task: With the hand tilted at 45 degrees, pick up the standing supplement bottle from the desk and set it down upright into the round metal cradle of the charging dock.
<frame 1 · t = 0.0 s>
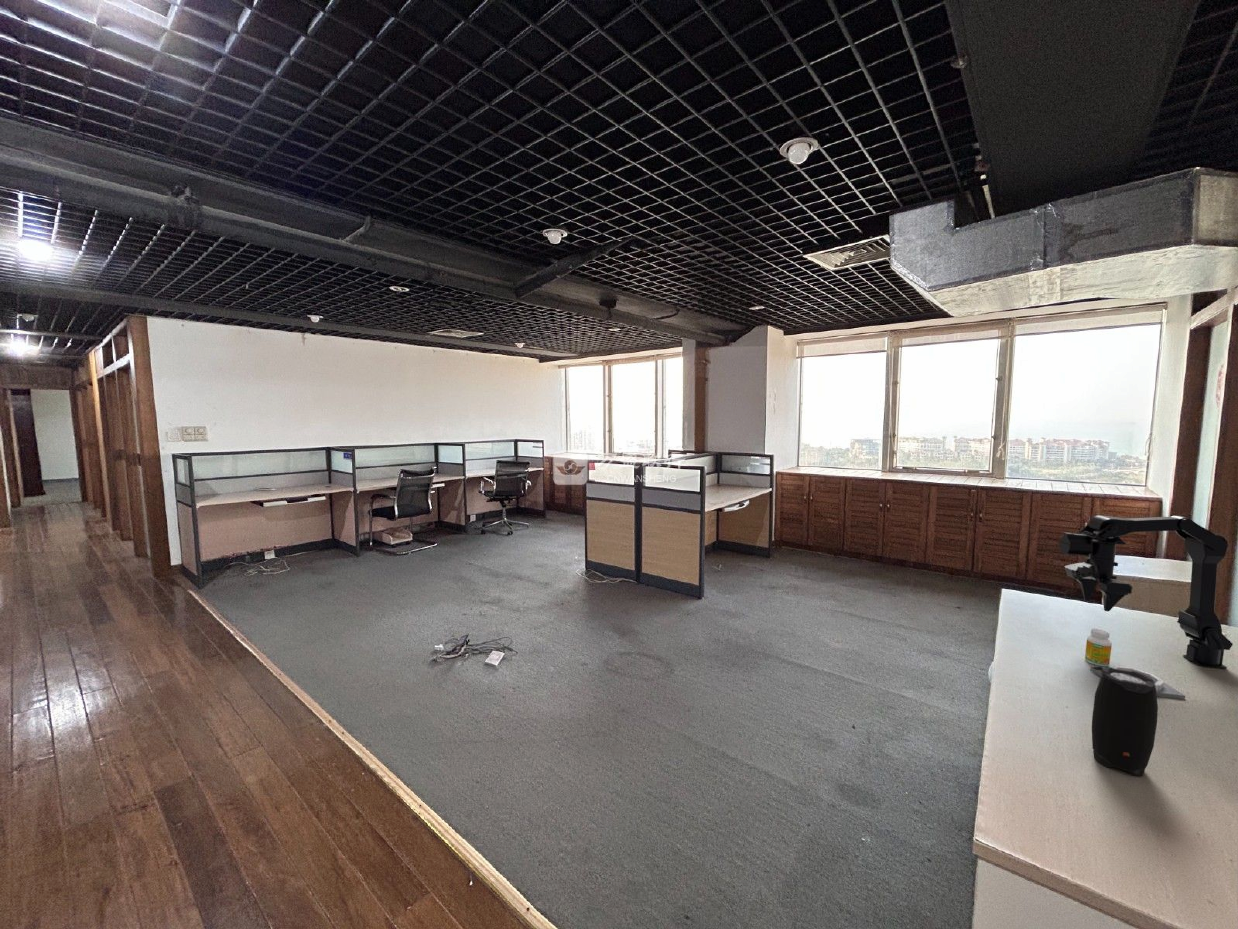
hand: (1096, 605, 156), 15 cm above the table, tool pointing down, fingers open, 9 cm apart
supplement bottle: (1096, 663, 150), on the table
portable speaker: (1117, 764, 105), on the table
charging dock: (1134, 683, 138), on the table
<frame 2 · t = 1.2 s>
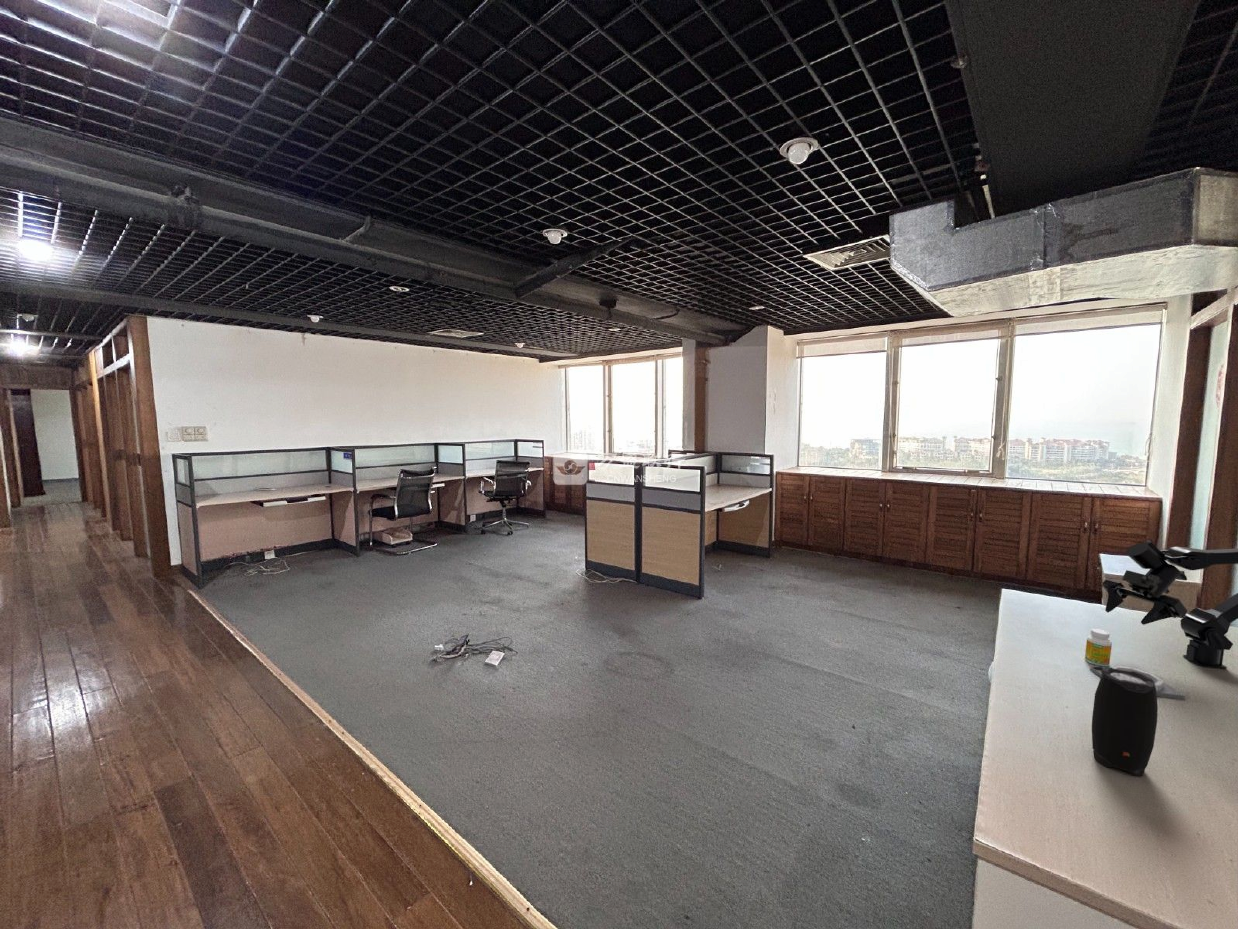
hand: (1123, 617, 150), 14 cm above the table, tool tilted 45°, fingers open, 9 cm apart
nothing on the table moved.
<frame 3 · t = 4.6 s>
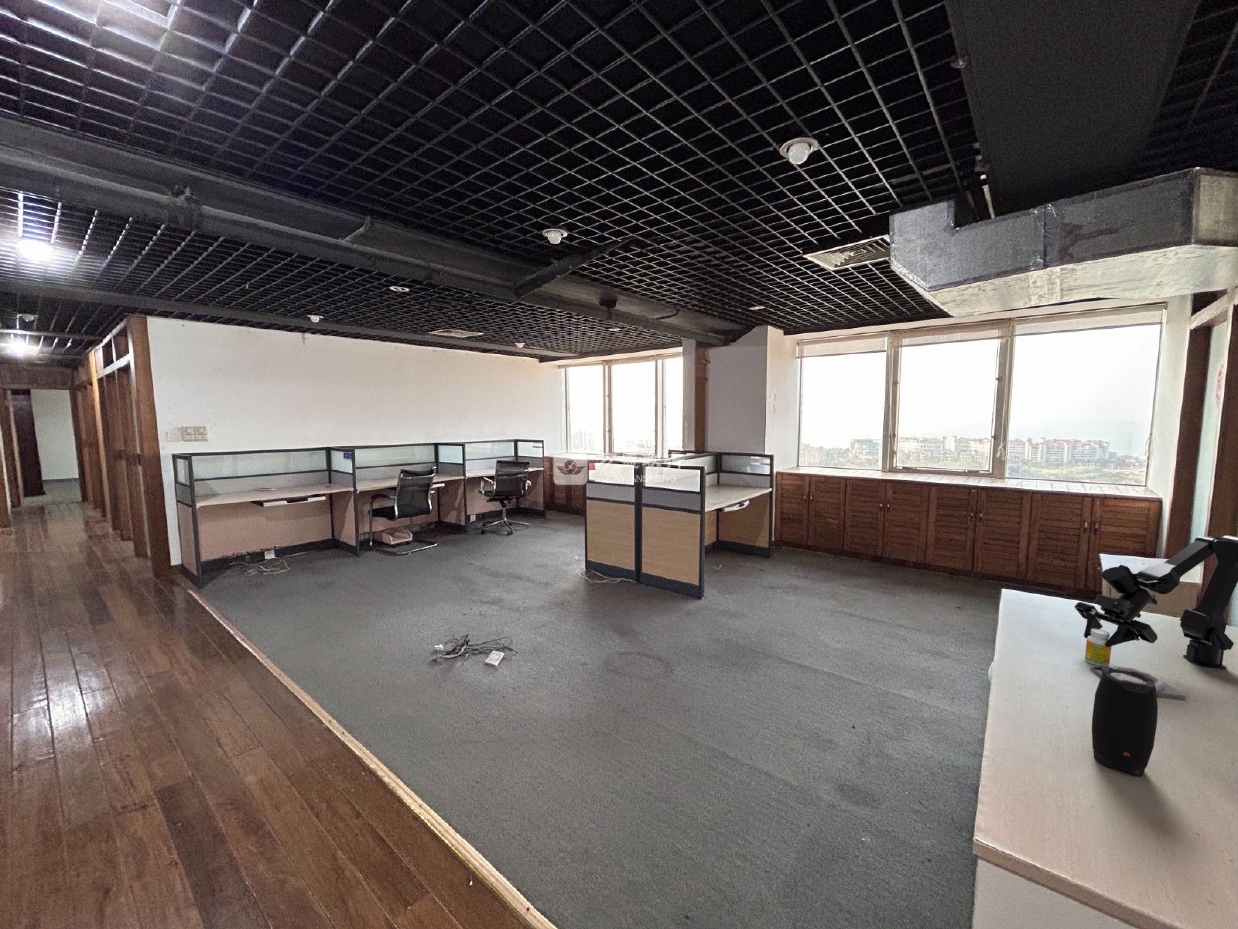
hand: (1095, 641, 149), 7 cm above the table, tool tilted 45°, fingers closed on supplement bottle, 5 cm apart
supplement bottle: (1096, 663, 150), on the table, touching gripper
everything else where it was.
when the fingers open (8 cm above the table, at t = 10.4 s): supplement bottle stays where it is, resting on charging dock.
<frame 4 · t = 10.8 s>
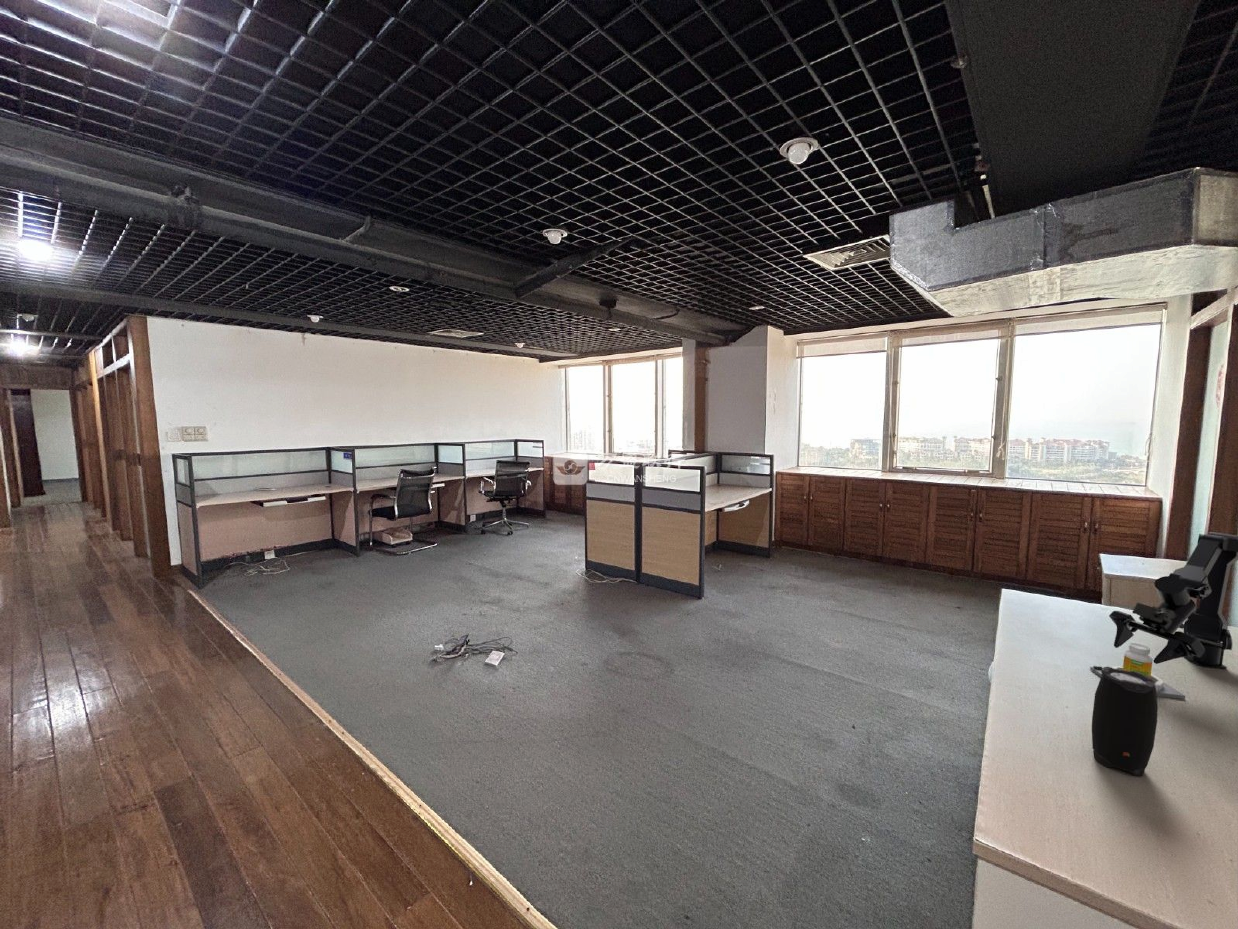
hand: (1134, 654, 137), 9 cm above the table, tool tilted 45°, fingers open, 9 cm apart
supplement bottle: (1135, 681, 138), point 1 cm above the table, touching charging dock
everything else where it was.
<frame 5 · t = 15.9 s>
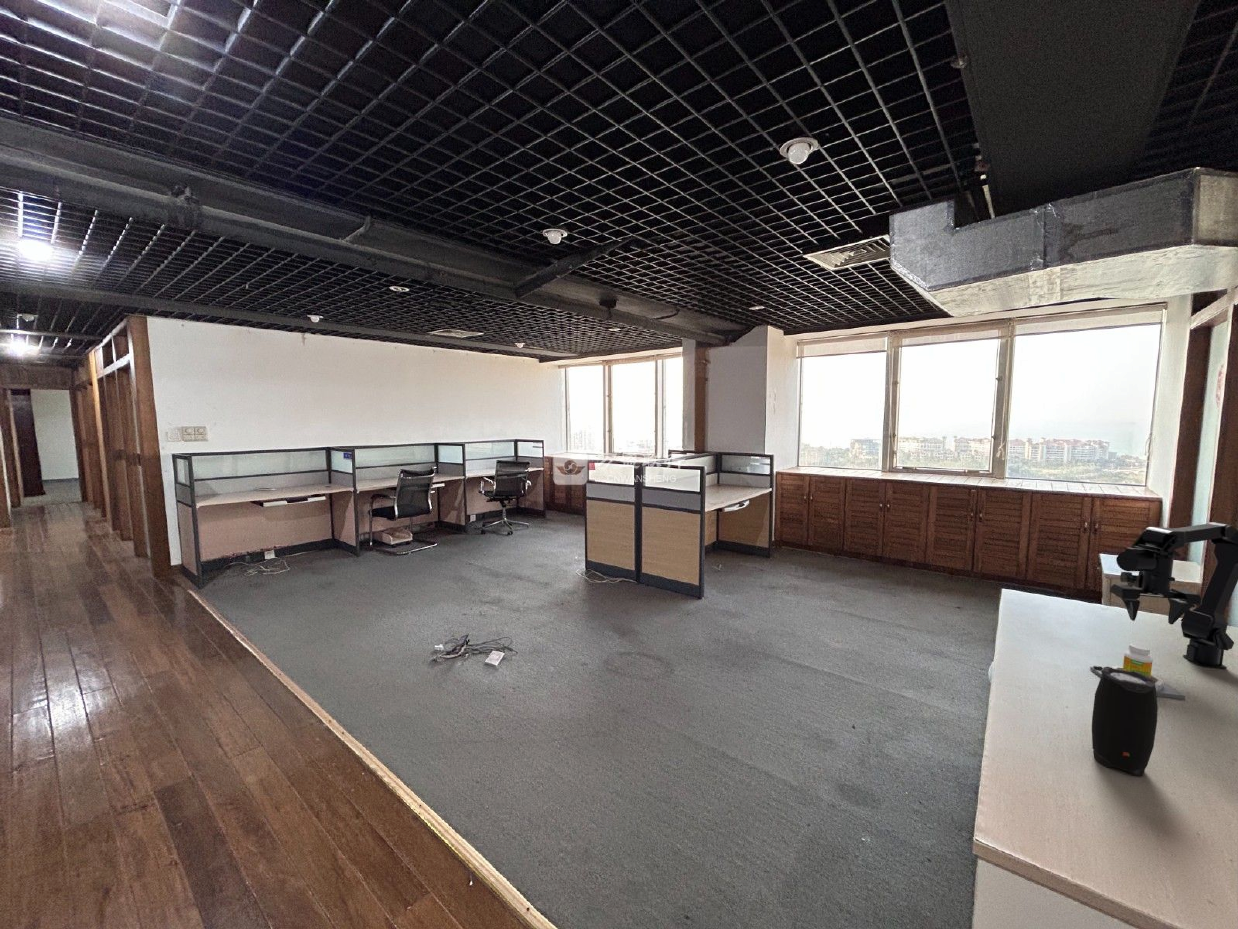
hand: (1151, 622, 148), 13 cm above the table, tool pointing down, fingers open, 9 cm apart
nothing on the table moved.
at the end: supplement bottle 0.1 cm off-centre on the charging dock, point 0.8 cm above the charging dock's base; supplement bottle tilted 0°; the gripper is holding nothing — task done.
